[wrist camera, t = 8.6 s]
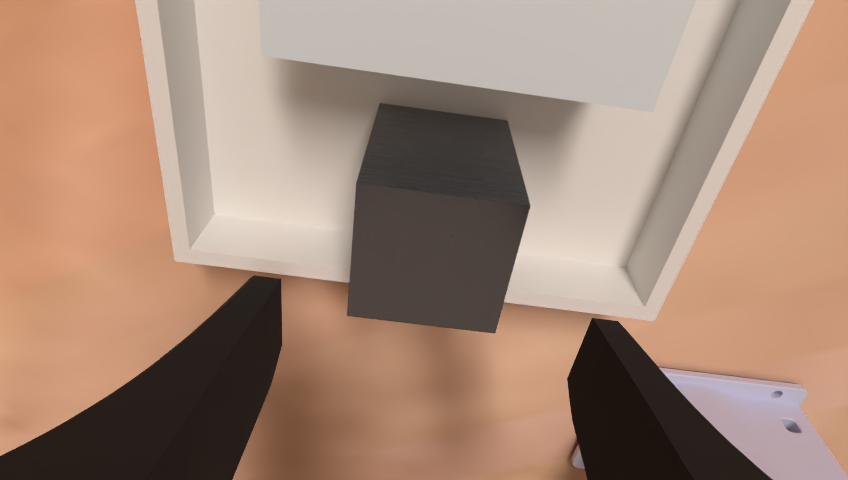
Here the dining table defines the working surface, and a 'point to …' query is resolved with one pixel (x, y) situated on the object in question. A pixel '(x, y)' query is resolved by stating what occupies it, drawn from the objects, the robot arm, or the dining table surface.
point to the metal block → (436, 219)
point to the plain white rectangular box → (491, 43)
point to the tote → (526, 114)
